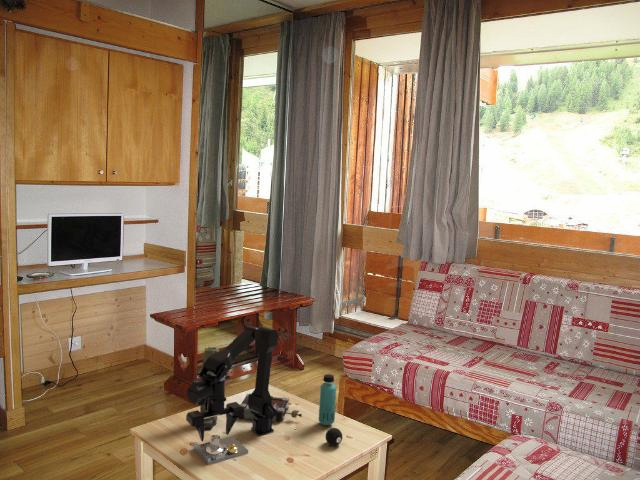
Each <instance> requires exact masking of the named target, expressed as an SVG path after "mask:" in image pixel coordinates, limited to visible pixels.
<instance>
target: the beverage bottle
mask: <svg viewBox="0 0 640 480" xmlns="http://www.w3.org/2000/svg"><path fill="white" fill-rule="evenodd" d="M322 380H323V383H322V384H321V385H320V386H319V387H320V392H319V408H318V422H319V423H320V424H322V425H329V426H330V425H333V424H334V422H335V418H336V399H337V386H336V385H335V383H333V382H335V376H334V375H333V374H332V373H331V374H329V373H327V374H324V375H323V379H322Z"/></svg>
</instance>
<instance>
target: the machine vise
mask: <svg viewBox="0 0 640 480" xmlns="http://www.w3.org/2000/svg"><path fill="white" fill-rule="evenodd" d="M249 394H250V393H246V394H245V396H244V399H243V400H242V402H241V403H239V404H240V405H241V406H242V407H243V409H244V414H243V415H240V418H239V419H244V420H249V421H250V420H251V421H253V419H254V415H255V414H252V413H251V412H250V409H249V407H248V404H247V403H248V396H249ZM271 398H272V406H273V407H274V408H275V409H276V410H277V412H276V416H275V417H273V419H272V423H276V422H277V423H282V422H284V420H285V416H286V414H288V415H290V416H291V417H292V418H297V416H298V417H300V418H302V415H303V413H299V412H300V410H297V409H293V410H292V411H291V412H288V410H289V409H290V406H289V405H288V403H289V402H290V397H275V396H273V395H271Z"/></svg>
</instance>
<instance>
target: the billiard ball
mask: <svg viewBox="0 0 640 480" xmlns="http://www.w3.org/2000/svg"><path fill="white" fill-rule="evenodd" d="M325 441H326V442H327V444H329V446H333V447H334V446H339V445H340V444H341V443H342V441H343V433H342V431H341V430H340V429H339V428H337V427H330V428H329V429H328V430H327V431H326V433H325Z"/></svg>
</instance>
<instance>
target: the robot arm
mask: <svg viewBox="0 0 640 480" xmlns="http://www.w3.org/2000/svg"><path fill="white" fill-rule="evenodd" d="M279 338H280V334H279V332H278V329H277V330H276V329H274V328H271V327H267V326H263V325H262V326H259V327H255V326H251V325H249V326H245V328H244V330H243V332H241V333H240V334H239V335H238V336H237V337H236V338H235V339H234V340H232V341H231V342H230V343H229V344H228V345H227V346H226V347H225V348H224V349H222V350H219V351H218V352H216V353H214V354H213V355H211V356H210V357H208V358H207V360H206V362H205V364H204V366H203V365H202V367H203V368H202V367H201V370H200V372H199V374H198V375H197V376H198V378H201V379H197V380H192V381H191V385H189V386H188V388H187V390H186V395H187V398H188V401H190V402H191V403H192V404H195V407H200V406H201V408H202V407H204V410H207V412H205V413H200V410H199V409H197V410H193V411H188V412H187V414H186V415H185V420H186V422H187V423H188V424H189V425H190V426H192V427H194V428H195V429H196V430H197V433H198V437H199V439H200V441H201V442H203V441H204V439H205V430H204V429H205V425H204V424H203V423H204V419H206V418H211V417H215V416H217V417H218V416H222V415H225V417H226V420H225V422H226V423H225V434H226V436H228V435H229V434H230V432H231V430H232V429H233V427H234V425H235V424H236V422H237V420H238V419H241V418H240V415H243V414H244V409H243V407H242V406H241V405H240V404H241V403H239V402H237V401H233V402H228V403H226V405H225V402H227V397H225V394H226V380H229V379H230V378H231V376H230V375H229V374H228V372H229V371H230V370H231V368H232V367H233V363H234V361H235V360H236V359H237V358H238V356H239V355H241V353H243V352H244V351H245V350H246V349H247V348H248V347H249V346H250V345H251V344H252V343H253V342H254V341H255V346H256V348H257V350H258V353H257V365H256V372H255V373H256V375H255V382H254V383H255V385H254V390H253V391H252V393H248V394H249V396H248V403H247V404H248V407H249V409H250V412H251V413H252V414H255V415H254V419H253V420H252V424H251V425H252V426H251V430H252V432H254V433H255V434H257V435H258V436H263V435H267V434H270V433H274V432H275V429H273V422H272V419H273V417H275V416H276V412H277V410H276V409H275V408H274V407H273V406H272V398H271V396H272V395H271V394H270V390H269V387H270V377H271V367H272V357H273V352H274V350H275V349H276V348H277V346H278V342H279ZM207 372H209V373H212V374H215V375H214V376H212V375H209V374H207Z"/></svg>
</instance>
